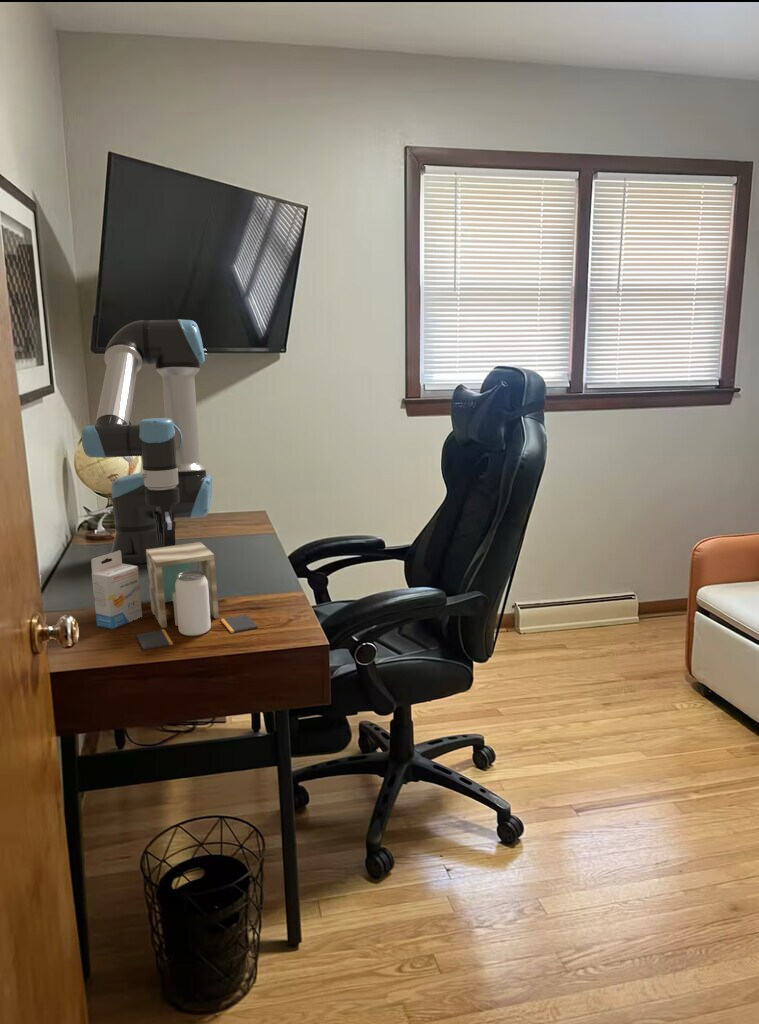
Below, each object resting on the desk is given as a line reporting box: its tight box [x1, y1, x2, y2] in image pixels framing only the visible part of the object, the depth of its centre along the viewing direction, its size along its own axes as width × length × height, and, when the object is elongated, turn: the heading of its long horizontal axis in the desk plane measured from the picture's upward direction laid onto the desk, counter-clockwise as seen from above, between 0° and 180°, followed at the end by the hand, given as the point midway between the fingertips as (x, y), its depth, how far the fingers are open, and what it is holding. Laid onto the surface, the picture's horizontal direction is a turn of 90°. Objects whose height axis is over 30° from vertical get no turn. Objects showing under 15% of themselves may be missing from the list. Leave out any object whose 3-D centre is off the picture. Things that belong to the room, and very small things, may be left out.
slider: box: [162, 563, 192, 626], centre depth 164 cm, size 19×8×9 cm, turn 27°
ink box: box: [90, 550, 143, 630], centre depth 159 cm, size 8×5×15 cm, turn 152°
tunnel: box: [146, 541, 220, 629], centre depth 162 cm, size 12×12×14 cm
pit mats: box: [135, 614, 259, 651], centre depth 153 cm, size 8×23×1 cm, turn 117°
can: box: [175, 570, 212, 637], centre depth 152 cm, size 6×6×12 cm
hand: (169, 585), depth 175 cm, fingers closed
